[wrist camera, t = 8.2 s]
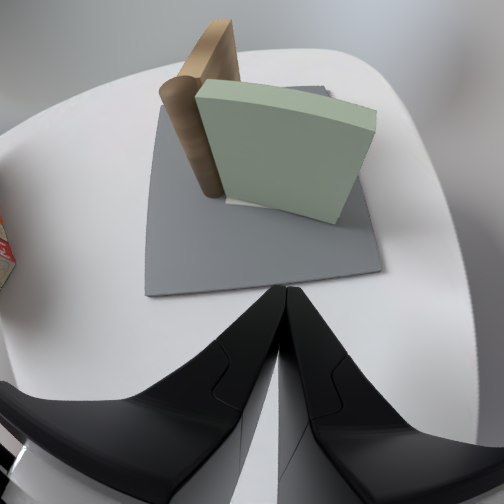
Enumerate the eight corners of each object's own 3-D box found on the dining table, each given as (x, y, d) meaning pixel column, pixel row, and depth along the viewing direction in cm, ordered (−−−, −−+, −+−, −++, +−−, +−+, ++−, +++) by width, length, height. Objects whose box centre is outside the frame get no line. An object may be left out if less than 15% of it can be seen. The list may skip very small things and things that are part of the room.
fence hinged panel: (226, 196, 17) (194, 96, 9) (232, 180, 17) (207, 79, 10) (334, 224, 16) (375, 131, 8) (338, 207, 16) (376, 110, 9)
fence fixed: (224, 199, 17) (189, 97, 9) (199, 197, 18) (153, 100, 10) (246, 105, 20) (233, 14, 12) (226, 105, 20) (208, 15, 12)
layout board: (379, 271, 16) (382, 269, 15) (147, 296, 16) (144, 295, 16) (323, 89, 21) (324, 84, 20) (162, 108, 21) (160, 104, 21)
